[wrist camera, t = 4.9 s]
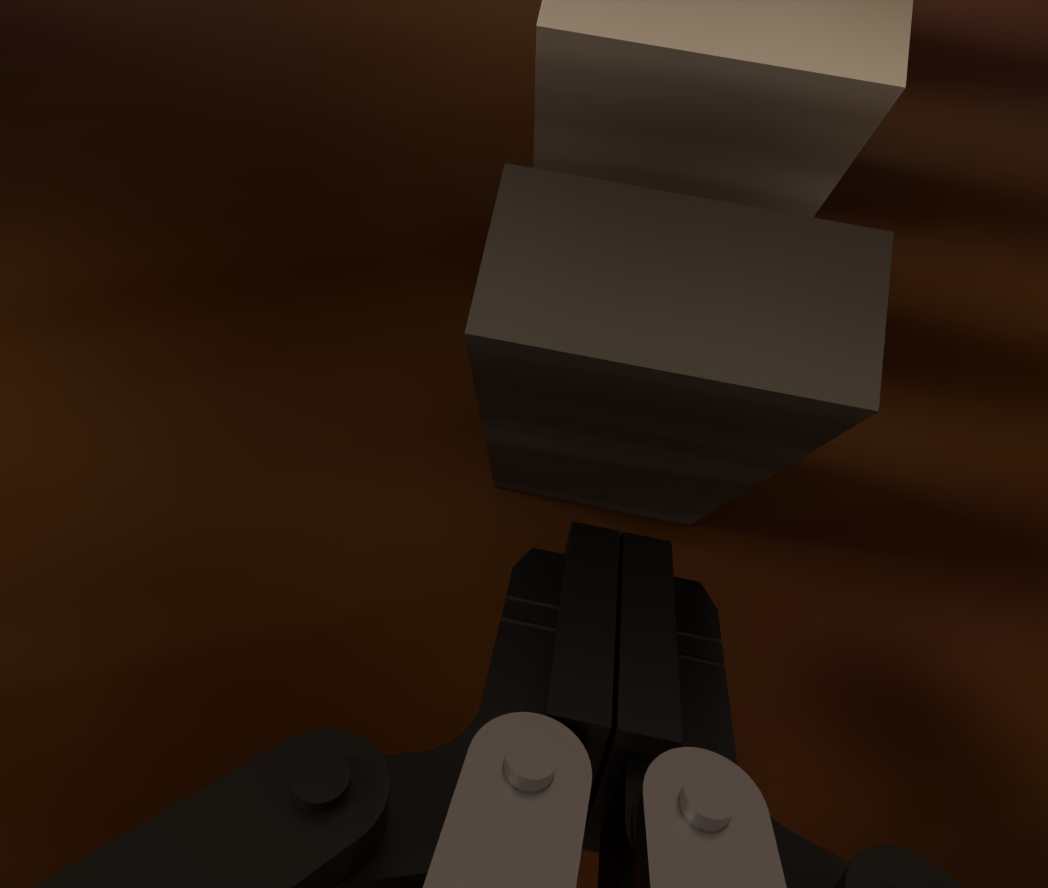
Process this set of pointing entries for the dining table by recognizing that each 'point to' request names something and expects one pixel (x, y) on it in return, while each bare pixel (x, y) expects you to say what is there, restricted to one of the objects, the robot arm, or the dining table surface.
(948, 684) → the dining table surface
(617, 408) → the domino
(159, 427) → the dining table surface
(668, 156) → the domino
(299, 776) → the robot arm
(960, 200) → the dining table surface
